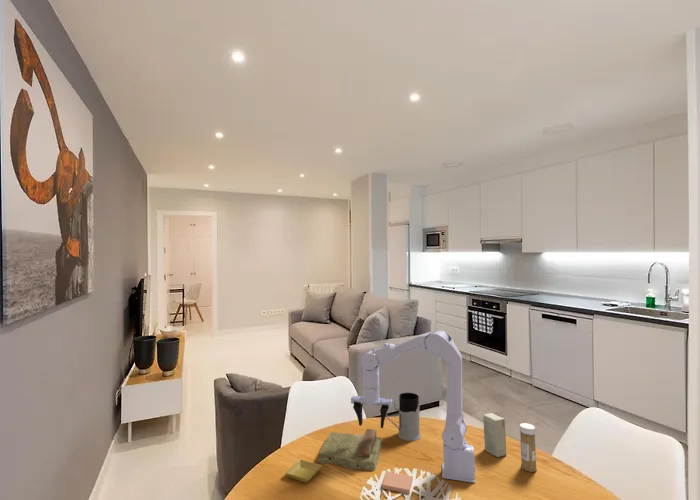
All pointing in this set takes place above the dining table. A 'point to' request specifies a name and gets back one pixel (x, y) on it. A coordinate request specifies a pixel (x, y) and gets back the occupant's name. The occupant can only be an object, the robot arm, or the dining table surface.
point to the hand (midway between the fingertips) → (371, 425)
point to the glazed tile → (397, 482)
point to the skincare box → (494, 434)
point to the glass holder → (408, 417)
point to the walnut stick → (367, 443)
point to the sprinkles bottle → (528, 447)
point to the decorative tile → (348, 451)
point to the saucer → (303, 470)
